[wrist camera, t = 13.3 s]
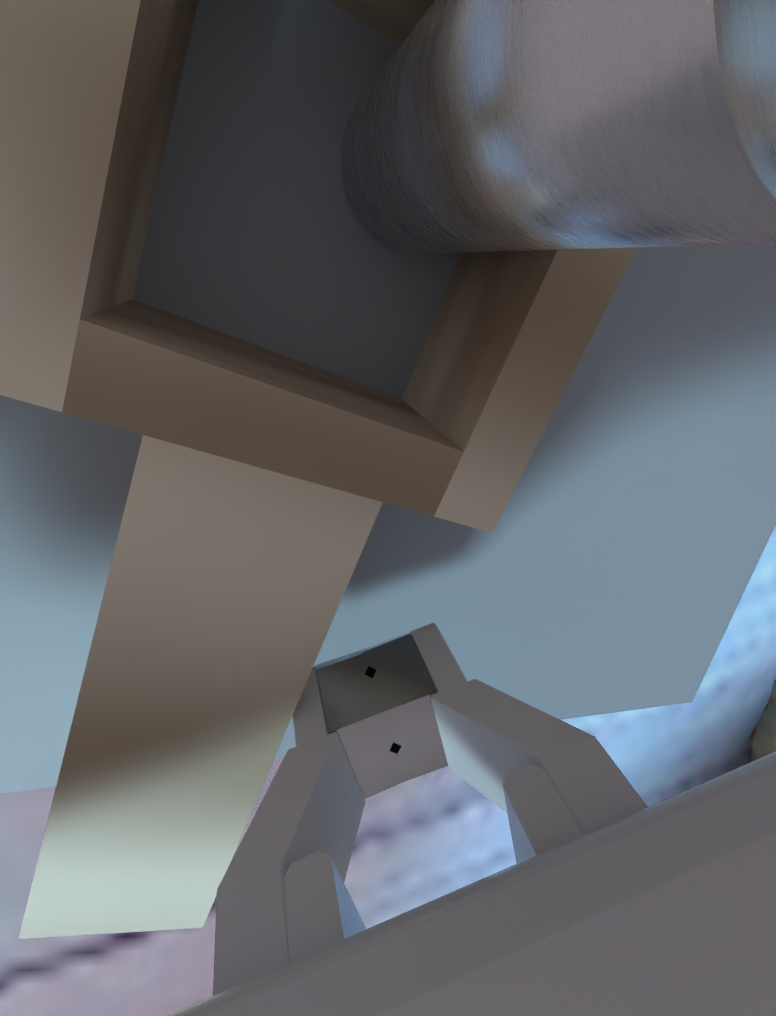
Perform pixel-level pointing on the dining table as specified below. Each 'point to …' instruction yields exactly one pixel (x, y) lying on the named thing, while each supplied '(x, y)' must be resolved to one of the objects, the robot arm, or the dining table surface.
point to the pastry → (765, 730)
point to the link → (223, 458)
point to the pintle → (570, 127)
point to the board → (388, 367)
